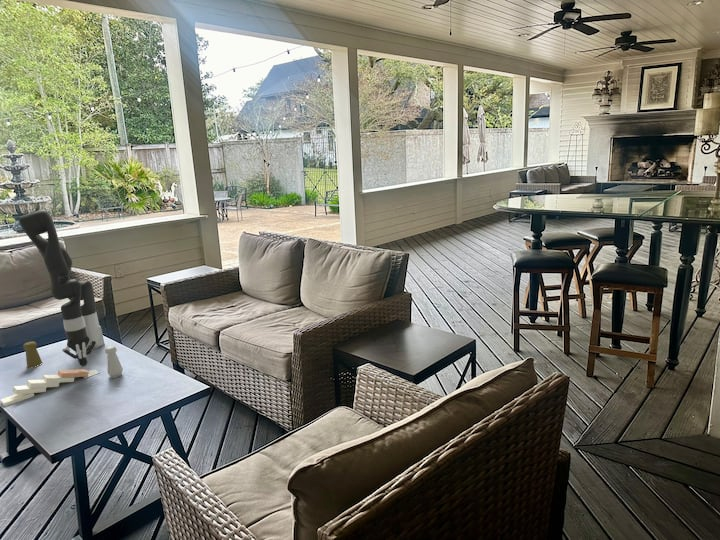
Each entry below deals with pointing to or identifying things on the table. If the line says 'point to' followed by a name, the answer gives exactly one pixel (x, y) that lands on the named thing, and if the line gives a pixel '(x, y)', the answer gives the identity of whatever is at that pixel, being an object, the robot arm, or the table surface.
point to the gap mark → (91, 373)
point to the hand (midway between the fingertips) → (83, 365)
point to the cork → (32, 354)
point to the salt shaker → (113, 362)
